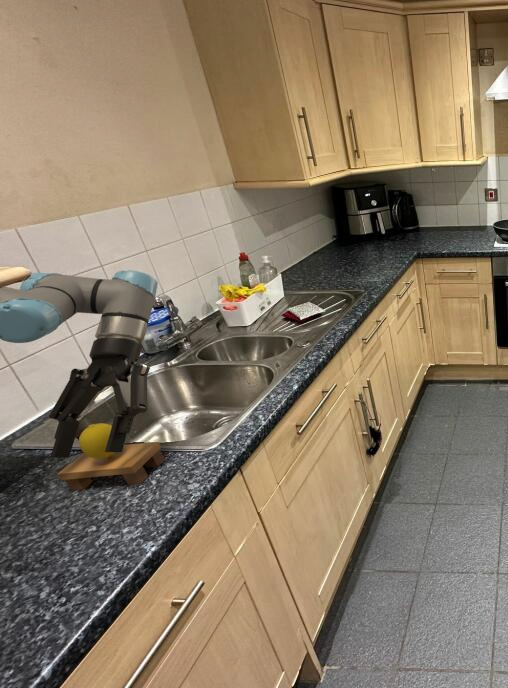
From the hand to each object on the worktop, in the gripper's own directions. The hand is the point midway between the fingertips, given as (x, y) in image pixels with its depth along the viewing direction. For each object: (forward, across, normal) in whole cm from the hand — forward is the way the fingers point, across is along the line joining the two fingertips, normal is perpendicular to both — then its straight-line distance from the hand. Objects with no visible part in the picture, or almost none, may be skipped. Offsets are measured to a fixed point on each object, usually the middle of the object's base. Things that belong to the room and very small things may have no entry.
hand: (86, 454), depth 77 cm
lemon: (0, 0, -5) cm, 5 cm away
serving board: (+4, 0, -8) cm, 9 cm away
